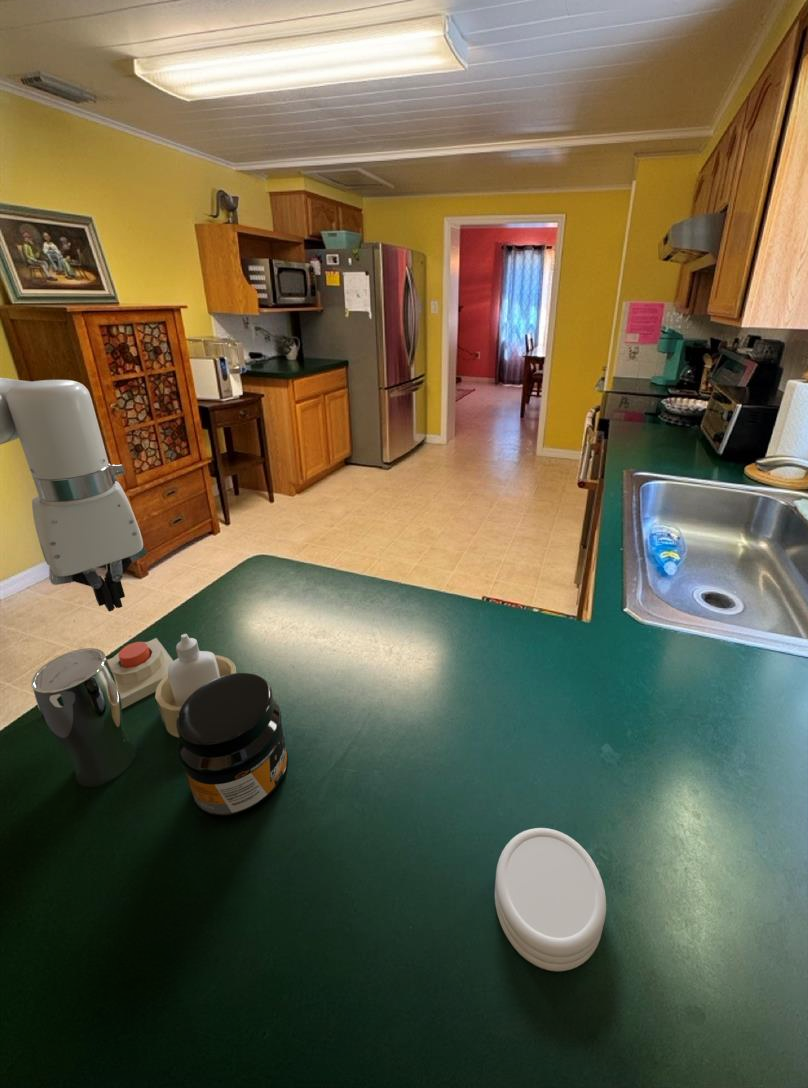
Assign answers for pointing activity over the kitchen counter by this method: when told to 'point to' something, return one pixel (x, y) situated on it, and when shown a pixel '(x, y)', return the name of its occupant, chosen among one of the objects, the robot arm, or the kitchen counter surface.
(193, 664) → the eye dropper bottle
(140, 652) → the button
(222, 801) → the supplement container
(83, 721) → the silver rounded piece
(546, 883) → the coaster
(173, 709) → the holder
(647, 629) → the kitchen counter surface
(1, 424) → the robot arm
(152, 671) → the button base
